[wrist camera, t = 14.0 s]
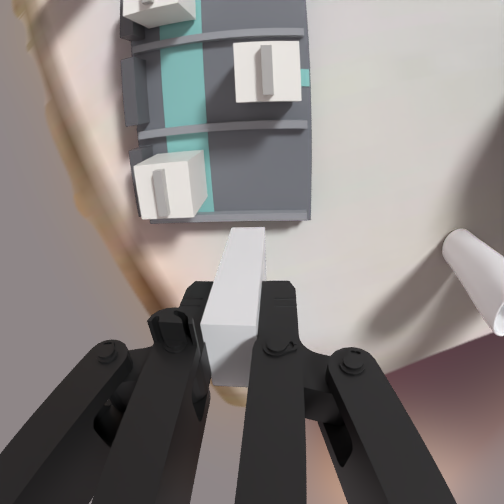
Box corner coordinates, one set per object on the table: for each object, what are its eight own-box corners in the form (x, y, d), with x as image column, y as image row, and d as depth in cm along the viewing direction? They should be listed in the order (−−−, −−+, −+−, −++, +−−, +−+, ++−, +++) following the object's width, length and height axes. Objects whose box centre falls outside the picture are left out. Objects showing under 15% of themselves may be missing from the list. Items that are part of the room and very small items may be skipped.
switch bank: (299, -39, 20) (303, -58, 16) (308, 213, 34) (313, 231, 30) (139, -19, 22) (120, -32, 17) (156, 217, 36) (140, 234, 31)
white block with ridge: (294, 53, 24) (299, 38, 18) (296, 101, 26) (302, 100, 20) (241, 54, 24) (231, 41, 18) (243, 102, 27) (234, 102, 21)
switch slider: (203, 149, 29) (184, 162, 23) (207, 196, 31) (191, 220, 25) (157, 153, 30) (129, 168, 24) (163, 198, 32) (138, 222, 26)
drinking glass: (427, 257, 36) (481, 331, 22) (451, 213, 32) (520, 274, 19) (458, 272, 36) (510, 341, 23) (481, 232, 33) (545, 292, 20)
